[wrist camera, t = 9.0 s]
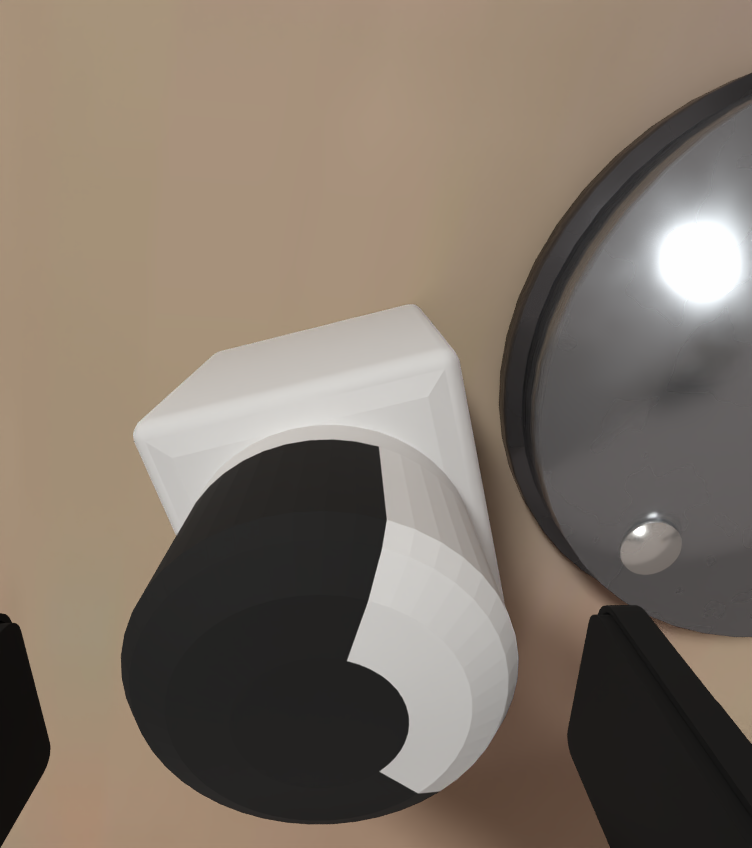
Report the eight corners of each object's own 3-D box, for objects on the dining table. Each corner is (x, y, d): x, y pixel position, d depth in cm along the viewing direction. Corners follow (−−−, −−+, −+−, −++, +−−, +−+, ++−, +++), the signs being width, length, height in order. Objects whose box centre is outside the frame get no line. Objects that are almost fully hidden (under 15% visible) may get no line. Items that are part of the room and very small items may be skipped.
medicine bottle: (275, 529, 20) (171, 919, 9) (210, 351, 17) (-52, 578, 6) (457, 487, 20) (594, 836, 8) (418, 299, 17) (541, 440, 6)
